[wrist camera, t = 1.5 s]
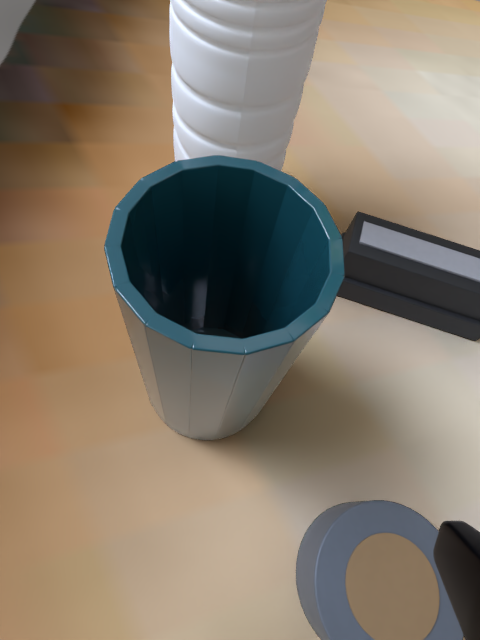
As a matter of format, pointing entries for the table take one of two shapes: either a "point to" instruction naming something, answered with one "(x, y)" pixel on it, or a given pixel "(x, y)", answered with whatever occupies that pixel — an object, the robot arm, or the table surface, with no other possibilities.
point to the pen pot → (220, 285)
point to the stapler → (412, 275)
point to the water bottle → (239, 75)
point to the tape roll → (373, 575)
